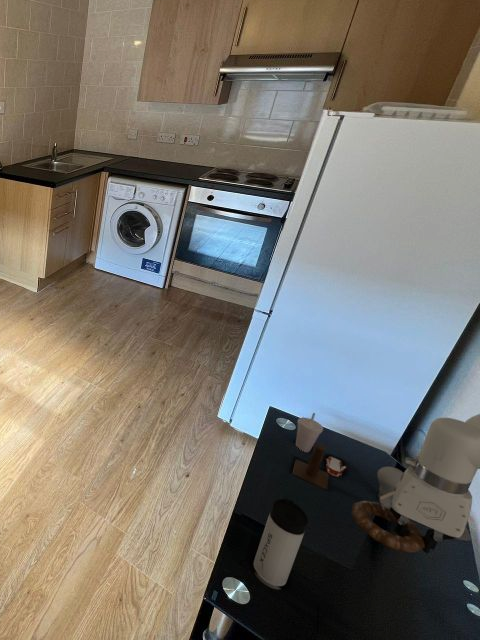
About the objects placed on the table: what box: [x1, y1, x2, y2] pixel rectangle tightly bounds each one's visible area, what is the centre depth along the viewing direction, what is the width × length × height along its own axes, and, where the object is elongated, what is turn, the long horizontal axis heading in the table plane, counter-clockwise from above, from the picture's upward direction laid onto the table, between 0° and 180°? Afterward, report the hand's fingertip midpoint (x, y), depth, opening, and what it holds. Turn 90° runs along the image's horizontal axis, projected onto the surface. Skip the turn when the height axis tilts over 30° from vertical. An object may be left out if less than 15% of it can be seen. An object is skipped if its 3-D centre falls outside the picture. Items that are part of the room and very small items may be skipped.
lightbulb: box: [377, 466, 404, 499], centre depth 112 cm, size 6×6×11 cm
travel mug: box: [253, 497, 309, 591], centre depth 91 cm, size 6×7×20 cm
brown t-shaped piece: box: [291, 443, 330, 491], centre depth 120 cm, size 8×8×11 cm
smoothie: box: [295, 412, 324, 453], centre depth 130 cm, size 6×6×14 cm
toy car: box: [324, 456, 348, 478], centre depth 124 cm, size 5×8×3 cm, turn 134°
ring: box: [351, 500, 425, 554], centre depth 91 cm, size 12×12×3 cm
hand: (412, 541), depth 89 cm, fingers closed on ring, 3 cm apart
